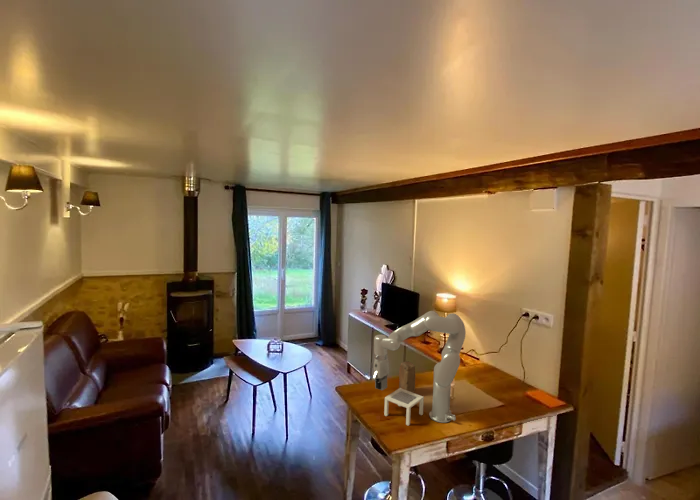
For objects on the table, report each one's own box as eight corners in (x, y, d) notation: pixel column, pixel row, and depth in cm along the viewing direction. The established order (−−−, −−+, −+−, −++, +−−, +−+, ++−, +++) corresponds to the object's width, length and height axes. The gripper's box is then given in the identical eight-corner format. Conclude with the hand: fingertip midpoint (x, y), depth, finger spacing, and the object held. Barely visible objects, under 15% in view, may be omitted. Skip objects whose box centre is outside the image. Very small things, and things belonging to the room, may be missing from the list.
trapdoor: (416, 398, 213) (416, 397, 213) (407, 404, 206) (407, 403, 206) (401, 392, 220) (401, 391, 220) (391, 398, 212) (391, 397, 212)
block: (415, 395, 237) (416, 365, 235) (405, 397, 234) (406, 366, 232) (406, 388, 247) (407, 359, 245) (396, 390, 244) (397, 360, 242)
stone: (387, 387, 218) (387, 377, 217) (382, 390, 214) (382, 380, 213) (380, 385, 221) (380, 375, 220) (375, 388, 217) (375, 378, 217)
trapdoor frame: (422, 414, 215) (423, 396, 214) (408, 425, 202) (409, 407, 201) (399, 404, 225) (399, 388, 224) (384, 415, 213) (384, 397, 212)
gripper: (377, 362, 207) (378, 394, 208) (394, 353, 220) (394, 383, 221) (366, 359, 212) (367, 390, 213) (383, 351, 225) (384, 380, 226)
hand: (381, 386), depth 217 cm, fingers closed on stone, 5 cm apart
